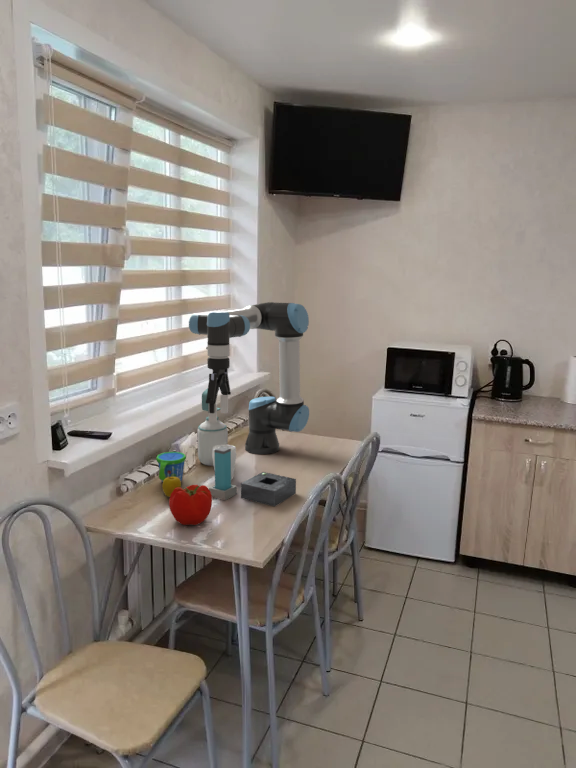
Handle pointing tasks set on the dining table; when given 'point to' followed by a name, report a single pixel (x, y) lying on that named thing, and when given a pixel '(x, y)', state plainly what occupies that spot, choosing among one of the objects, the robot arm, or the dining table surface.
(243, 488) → the port
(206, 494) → the tomato
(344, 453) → the dining table surface
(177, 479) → the apple
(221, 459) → the plug
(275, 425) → the robot arm
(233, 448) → the cup
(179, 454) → the snack cup
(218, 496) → the holster
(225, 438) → the soap bottle
